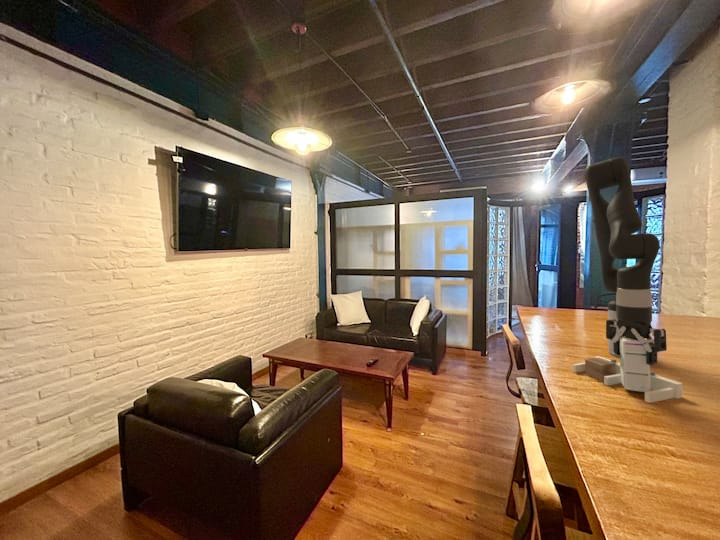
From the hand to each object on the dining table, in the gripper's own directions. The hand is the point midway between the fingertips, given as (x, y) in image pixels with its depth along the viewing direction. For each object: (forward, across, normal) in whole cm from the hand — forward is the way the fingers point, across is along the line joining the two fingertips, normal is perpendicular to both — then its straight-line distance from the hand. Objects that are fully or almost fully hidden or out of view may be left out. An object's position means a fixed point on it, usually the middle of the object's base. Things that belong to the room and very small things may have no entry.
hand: (634, 359), depth 85 cm
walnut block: (+9, +11, -1) cm, 14 cm away
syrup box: (+8, 0, 0) cm, 8 cm away
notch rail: (+9, +5, -2) cm, 11 cm away
